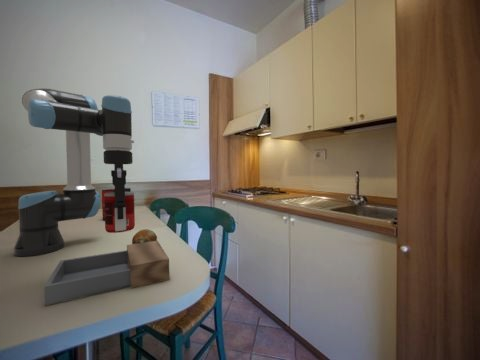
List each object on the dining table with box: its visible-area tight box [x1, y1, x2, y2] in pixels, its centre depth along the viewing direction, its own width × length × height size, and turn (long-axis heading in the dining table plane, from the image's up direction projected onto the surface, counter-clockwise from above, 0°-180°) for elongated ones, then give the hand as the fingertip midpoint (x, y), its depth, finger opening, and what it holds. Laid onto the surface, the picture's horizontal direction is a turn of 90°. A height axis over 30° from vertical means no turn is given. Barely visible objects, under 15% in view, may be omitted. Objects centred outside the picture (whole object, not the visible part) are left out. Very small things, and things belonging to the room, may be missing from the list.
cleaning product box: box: [101, 187, 132, 222], centre depth 154 cm, size 16×9×20 cm, turn 172°
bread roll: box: [131, 228, 158, 244], centre depth 99 cm, size 10×10×8 cm
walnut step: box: [126, 240, 170, 289], centre depth 72 cm, size 10×20×6 cm, turn 29°
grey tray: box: [43, 249, 131, 306], centre depth 65 cm, size 18×18×4 cm
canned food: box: [104, 191, 136, 234], centre depth 68 cm, size 8×8×11 cm
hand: (120, 227), depth 68 cm, fingers closed on canned food, 8 cm apart
